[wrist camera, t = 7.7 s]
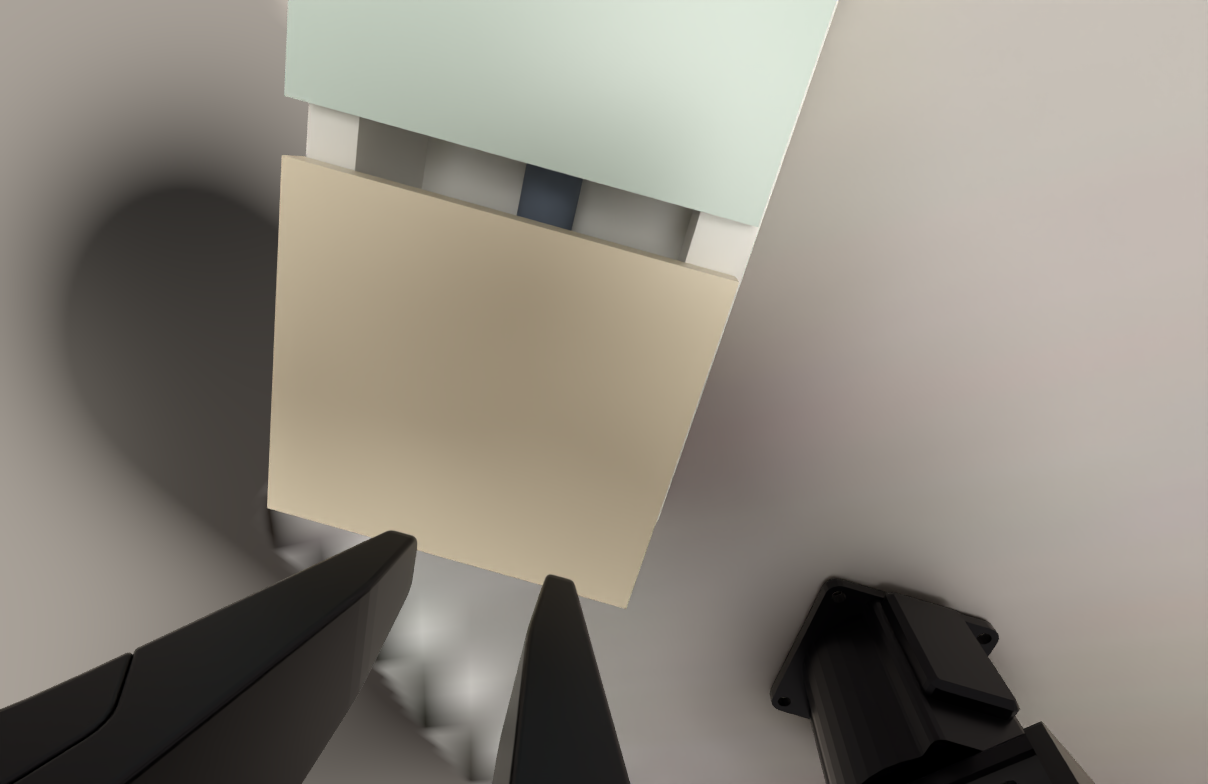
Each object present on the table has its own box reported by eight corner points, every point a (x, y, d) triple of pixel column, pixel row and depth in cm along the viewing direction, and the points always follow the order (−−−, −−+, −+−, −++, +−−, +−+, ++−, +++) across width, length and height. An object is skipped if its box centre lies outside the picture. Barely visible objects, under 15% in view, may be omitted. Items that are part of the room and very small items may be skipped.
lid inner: (627, 589, 17) (625, 609, 16) (285, 492, 17) (267, 508, 16) (735, 276, 13) (739, 282, 13) (303, 156, 13) (282, 154, 13)
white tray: (658, 506, 21) (654, 597, 17) (350, 417, 22) (261, 483, 17) (890, -169, 14) (997, -341, 9) (420, -295, 14) (297, -524, 10)
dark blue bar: (529, 427, 20) (517, 447, 18) (484, 414, 20) (469, 434, 18) (659, -135, 14) (657, -173, 12) (595, -152, 14) (586, -192, 12)
